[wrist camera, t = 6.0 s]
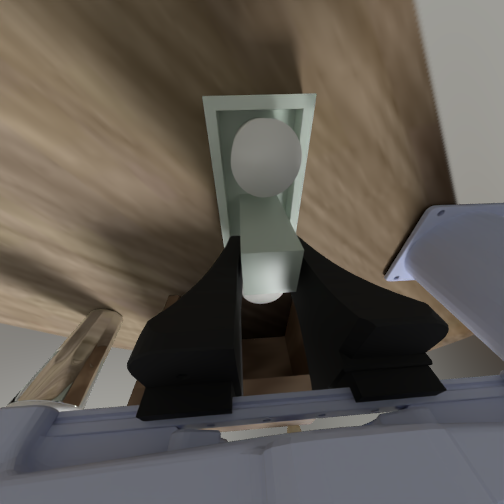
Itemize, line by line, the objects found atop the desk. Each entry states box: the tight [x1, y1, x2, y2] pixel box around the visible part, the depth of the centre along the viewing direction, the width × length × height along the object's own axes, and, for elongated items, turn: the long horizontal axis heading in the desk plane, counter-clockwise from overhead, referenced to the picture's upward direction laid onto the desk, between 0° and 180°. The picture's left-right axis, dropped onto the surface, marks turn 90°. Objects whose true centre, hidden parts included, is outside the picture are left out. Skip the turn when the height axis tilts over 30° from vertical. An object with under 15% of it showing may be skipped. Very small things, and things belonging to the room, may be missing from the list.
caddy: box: [202, 94, 317, 304], centre depth 10 cm, size 5×12×7 cm, turn 1°
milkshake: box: [6, 309, 123, 412], centre depth 16 cm, size 4×5×10 cm
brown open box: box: [127, 295, 315, 432], centre depth 18 cm, size 14×11×9 cm
